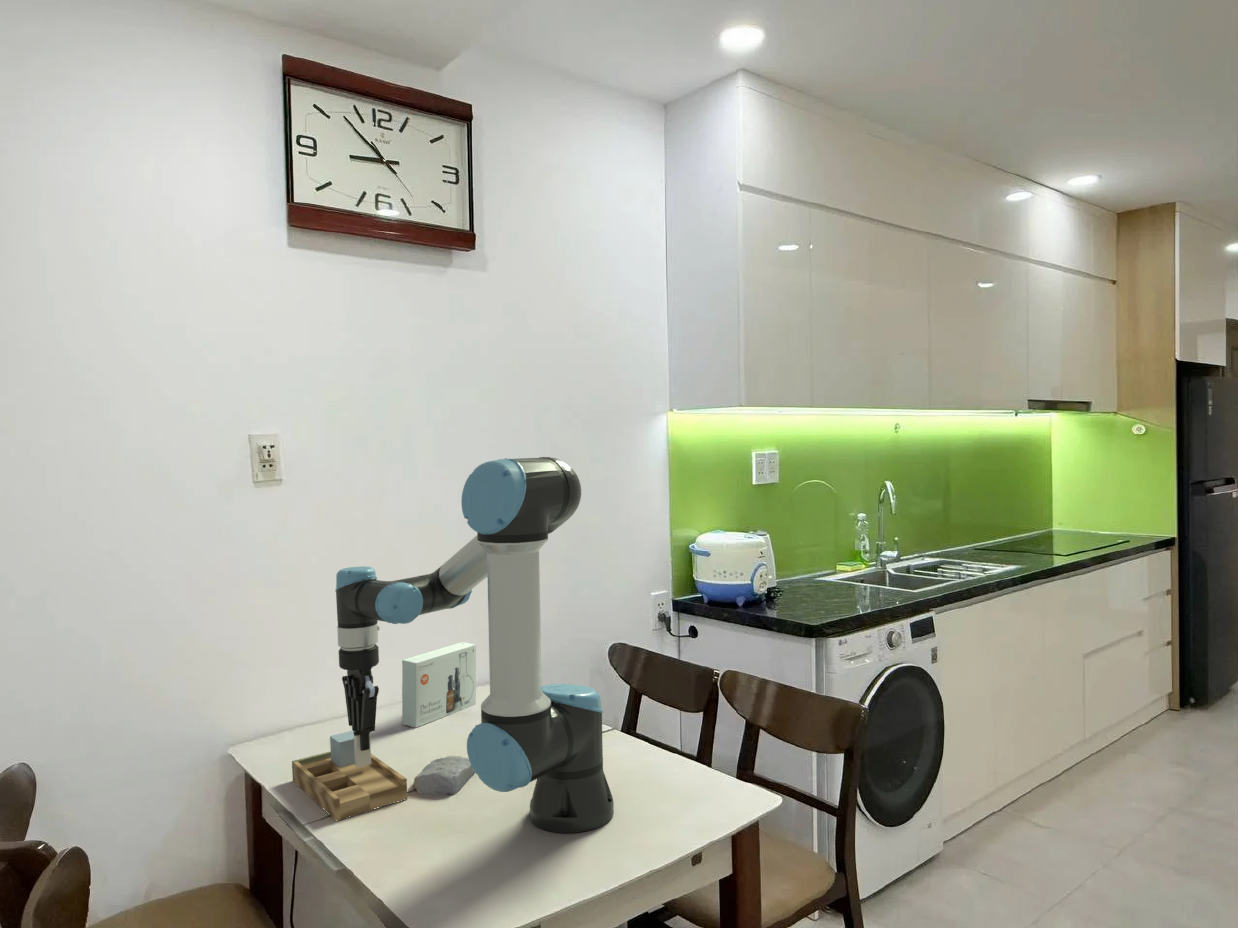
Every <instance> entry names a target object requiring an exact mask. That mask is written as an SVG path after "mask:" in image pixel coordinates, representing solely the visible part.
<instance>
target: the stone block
mask: <svg viewBox="0 0 1238 928" xmlns="http://www.w3.org/2000/svg"><path fill="white" fill-rule="evenodd" d="M475 774H476V773H475V772H474V770H473V768H472V766H471V764H470V761H469V758H468V757H465V756H459V755H458V756H457V755H449V756H446V757H440V758H436V759H434V760H431V761H430V763H429V764H427V765H426V766H424V767H423V769H422V770H421V772H420V773H418V774H417V775H416V776H415V777H414V779H413V784H414V788H415V791H416V792H417V793H420V794H426V795H427V794H428V795H429V794H430V795H431V794H432V795H437V794H439V795H440V794H441V795H457V793H458V792H460V790H461V789H463V787H464V786H465V785H466V784H467V783H468V782H469V780H470V779H471V778H472V777H473V776H474V775H475Z"/></svg>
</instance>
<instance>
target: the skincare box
mask: <svg viewBox="0 0 1238 928" xmlns="http://www.w3.org/2000/svg"><path fill="white" fill-rule="evenodd" d="M401 662H402V664H401V665H402V672H401V673H402V680H401V681H402V685H401V686H402V687H401V692H402V693H401V696H402V697H401V701H402V703H401V704H402V706H401V707H402V708H401V709H402V711H401V712H402V715H401V724H402V725H404V726H408V727H412V728H415V729H416V728H419V727H421V726H423V725H426V724H429V723H432V722H434V721H437V720H440V719H441V718H445V717H447V716H449V715H452V714H455V713H457V711H458V712H460V711H462V709H463V710H465V709H468V708H470V707H472V706H475V705H476V704H477V644H474V643H471V642H465V641H461V642H457V643H455V644H450V645H447V646H444V647H441V648H438V649H434V650H431V651H428V652H425V653H420V654H417V655H414V656H411V657H407V658H404V659H402V660H401ZM464 708H465V709H464Z"/></svg>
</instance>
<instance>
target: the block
mask: <svg viewBox="0 0 1238 928" xmlns="http://www.w3.org/2000/svg"><path fill="white" fill-rule="evenodd" d="M354 732H355V731H354ZM329 740H330V741H329V744H330V746H329V747H330V751H331V761H333V762H334V763H335V764H336V765H338V766H339V767H343V766H346V765H350V764H354V763H355V754H354V733H353V730H349V731H345V732H342V733H337V734H333V735H330V736H329Z"/></svg>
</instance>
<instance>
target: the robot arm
mask: <svg viewBox="0 0 1238 928" xmlns="http://www.w3.org/2000/svg"><path fill="white" fill-rule="evenodd" d="M581 498H582V486H581V481H580V479H579V476H578V475H577V473H576V472H575V469H573V468H572V467H571V466H570V465H569V464H568V463H566V462H564V461H563V460H561V459H558V458H554V457H550V456H542V457H541V456H540V457H527V458H526V457H525V458H524V457H523V458H521V457H519V458H506V457H505V458H499V459H495V460H490V461H486V462H485V461H484V463H481V464H479V465H478V466H477V467H475V468H474V469H473V471H472V472H471V473H470V474H469V475H468V477H467V479H466V480H465V482H464V485H463V489H462V493H461V511H462V515H463V518H464V519H466V520H467V522H466V524H467V525H468V526H469V528H471V529H472V530H473V531H475V532H476V535H475V536H474V537H473V538H472V539H471V540H470V541H468V542H467V543H466V544H464V546H462V547H461V548H460V549H459V550H458V551H457V552H456V553H454V554H453V555H452V556H451V557H450V558H448V559H447V560H446V561H445V562H444V563H443V564H441V566H440V567H438V568H437V569H436V570H434V571H433V572H431V573H427V574H422V575H417V576H413V577H412V576H411V577H407V578H401V579H396V580H389V581H388V580H379V579H377V578H378V577H377V573H376V569H375V568H374V567H373V566H366V565H365V566H352V567H346V568H342V569H339V570H338V571H337V573H336V577H335V578H336V579H335V581H336V584H335V596H336V597H335V599H336V600H335V601H336V616H337V627H336V629H337V646H338V647H339V649H338V667H339V668H340V669H342V670H345V671H346V674H347V675H343V676H342V677H341V680H342V685H343V689H344V690H343V691H344V695H345V696H344V697H345V705H346V712H347V720H348V726H349V727H351V731H353V733H354V754H355V766H356V767H362V766H366V765H369V764H371V754H372V753H371V749H372V748H371V733H372V732H375V731H376V718H377V717H376V716H377V702H378V700H377V699H378V695H379V692H380V691H379V690H380V688H379V686H378V685H375V686H374V676H373V673H372V668H373V667H376V666H377V665H379V662H380V655H379V653H380V652H379V650H380V649H379V646H378V644H377V643H379V636H378V635H379V634H378V631H380V626H379V625H378V621H379V622H384V623H385V622H386V623H388V624H393V625H397V624H403V625H404V624H405V625H406V624H409V623H412V622H414V621H415V620H416V619H417V618H418V617H419V616H422V615H425V614H430V613H435V612H439V611H443V610H444V611H445V610H451V609H455V608H456V607H458V606H461V605H464V604H466V603H467V602H468V601H469V600H470V597H471V594H472V592H473V589H474V588H475V587H477V586H478V585H479V584H480V583H482V582H483V581H484V580H485V579H487V609H488V610H487V611H488V612H487V613H488V616H487V619H488V620H487V621H488V657H489V658H488V660H489V662H488V663H489V695H488V696H486V698H485V699H484V700H483V701H482V702H481V704H480V719H481V720H480V723H479V724H475V726H474V727H473V728H472V730H471V732H470V733H469V734H468V736H467V738H466V739H467V740H466V751H467V752H466V753H467V756H468V757H467V758H469V761H470V764H471V766H472V768H473V770H474V772H475V773H474V774H475V775H477V776H478V779H479V780H480V781H481V782H482V783H483V784H484V785H485V786H487V787H488V788H490V789H491V790H494V791H496V792H499V793H508V792H511V791H512V792H513V791H514V790H516V789H519V788H524V787H526V786H528V785H529V784H530V783H532V782H534V781H535V780H536V782H535V786H534V789H533V791H532V792H533V793H532V797H531V799H530V802H529V818H530V819H529V820H531V822H532V824H534V825H535V826H537V827H538V828H540V829H542V830H544V831H545V830H546V831H548V832H554V833H563V834H565V833H566V834H569V833H570V834H571V833H573V834H574V833H581V832H587V831H591V830H594V829H598V828H599V827H602V826H604V825H606V824H607V823H608V822H610V821H611V819H612V818H613V817H614V811H615V810H614V809H615V808H614V807H615V806H614V804H615V803H614V796H613V795H612V791H611V788H610V786H609V783H608V780H607V776H606V774H605V772H604V756H603V752H604V751H603V712H604V711H603V708H602V698H601V695H600V693H599V692H598V691H597V690H596V689H595V688H593V687H591V686H587V685H580V684H572V683H571V684H570V683H552V684H545V685H542V683H543V682H542V681H543V680H542V637H541V636H542V635H541V634H542V633H541V630H542V629H541V628H542V627H541V584H540V582H541V581H540V580H541V579H540V577H541V576H540V573H541V572H540V549H541V548H542V547H543V546H544V545H545V543H547V542H548V541H549V534H552V533H553V532H555V531H556V530H557V529H558V528H560V527H561V526H562V525H564V524H565V522H567V521H568V520H569V519H570V518H571V517H573V515H574V514H575V512H576V511H577V510H578V508H579V505H580V502H581ZM354 731H355V732H354Z"/></svg>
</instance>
